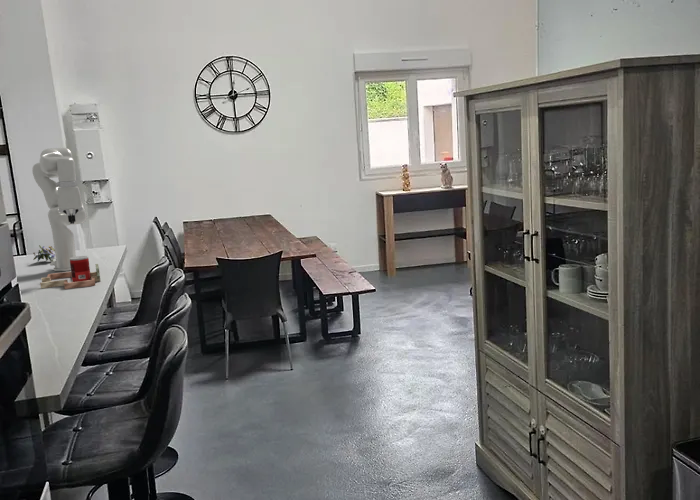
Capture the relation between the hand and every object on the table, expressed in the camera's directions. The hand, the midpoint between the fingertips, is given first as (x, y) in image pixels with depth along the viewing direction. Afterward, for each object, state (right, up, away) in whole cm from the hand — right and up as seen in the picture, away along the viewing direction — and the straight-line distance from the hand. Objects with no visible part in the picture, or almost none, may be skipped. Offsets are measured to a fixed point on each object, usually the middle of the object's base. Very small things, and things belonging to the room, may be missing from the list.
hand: (72, 223), depth 304 cm
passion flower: (-35, -20, +47) cm, 61 cm away
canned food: (+8, -27, -8) cm, 29 cm away
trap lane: (+4, -27, -10) cm, 29 cm away
